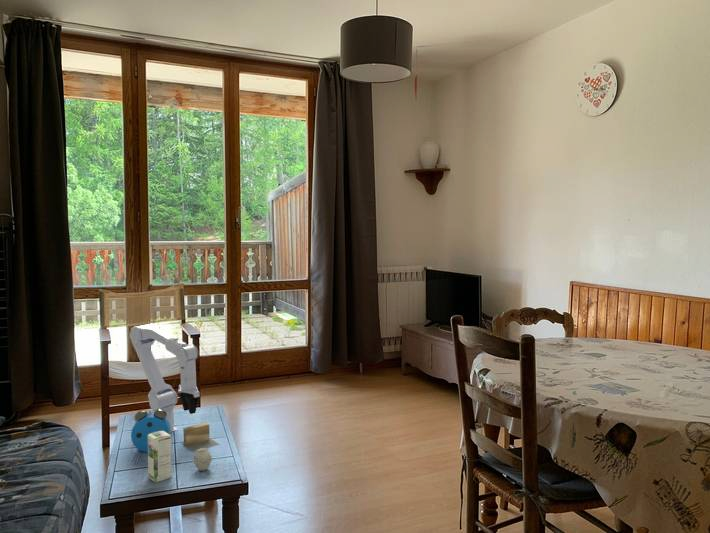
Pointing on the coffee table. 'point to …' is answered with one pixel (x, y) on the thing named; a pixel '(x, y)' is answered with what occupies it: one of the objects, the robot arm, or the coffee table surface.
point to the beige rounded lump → (202, 459)
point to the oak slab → (196, 433)
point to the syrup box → (159, 456)
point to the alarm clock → (148, 427)
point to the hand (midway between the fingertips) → (189, 411)
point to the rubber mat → (201, 445)
